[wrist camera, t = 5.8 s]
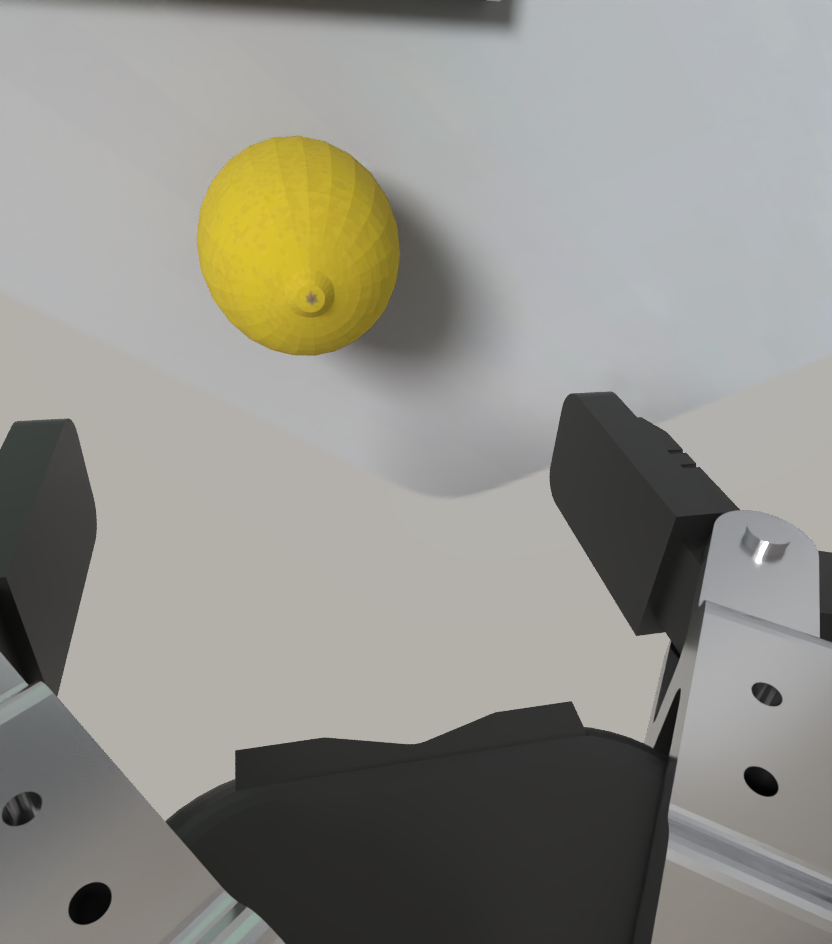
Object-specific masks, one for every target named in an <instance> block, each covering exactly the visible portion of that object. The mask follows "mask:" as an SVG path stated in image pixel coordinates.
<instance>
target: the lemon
mask: <svg viewBox="0 0 832 944" xmlns="http://www.w3.org/2000/svg"><path fill="white" fill-rule="evenodd" d="M197 245H198V253H199V261H200V267H201V271H202V273H203V276H204V278H205V281H206V283H207V286H208V288H209V291H210V293H211V295H212V298H213V299H214V301H215V302H216V303H217V305H218V306H219V308H220V309H221V310H222V312H223V313H224V314H225V316H226V317H227V318H228V320H229V321H230V322H231V323H232V324H233V325H234V326H235V327H237V328H238V329H239V330H240V331H241V332H242V333H244V334H245V335H246V336H247V337H248V338H249V339H251V340H253V341H255V342H257V343H259V344H261V345H263V346H265V347H267V348H269V349H271V350H274V351H279V352H283V353H287V354H291V355H319V354H323V353H328V352H333V351H336V350H338V349H340V348H342V347H344V346H346V345H348V344H351V343H353V342H354V341H356V340H357V339H358V338H359V337H361V336H362V335H363V334H364V333H366V332H367V331H368V330H369V329H370V328H372V327H373V325H374V324H375V323H376V321H377V320H378V319H379V317H380V316H381V315H382V313H383V312H384V311H385V309H386V307H387V304H388V302H389V300H390V297H391V295H392V293H393V290H394V288H395V285H396V280H397V274H398V267H399V261H400V247H399V237H398V227H397V223H396V220H395V218H394V215H393V212H392V209H391V207H390V204H389V201H388V199H387V196H386V195H385V193H384V192H383V190H382V189H381V187H380V186H379V184H378V183H377V182H376V180H375V179H374V177H373V176H372V174H371V173H370V172H369V171H368V170H367V169H366V168H365V167H364V166H362V165H361V164H360V163H359V162H358V161H357V160H356V159H355V158H354V157H352V156H351V155H350V154H349V153H347V152H345V151H343V150H341V149H339V148H337V147H335V146H333V145H331V144H329V143H327V142H325V141H320V140H316V139H311V138H306V137H302V136H293V137H274V138H271V139H268V140H265V141H263V142H260V143H257V144H254V145H251V146H249V147H248V148H246V149H245V150H243V151H242V152H241V153H239V154H238V155H236V156H235V157H233V158H232V159H231V160H229V161H228V162H227V164H226V165H225V166H224V167H223V169H222V170H221V171H220V172H219V174H218V175H217V176H216V177H215V178H214V180H213V181H212V182H211V184H210V187H209V189H208V192H207V194H206V196H205V199H204V201H203V204H202V206H201V209H200V216H199V223H198V231H197Z"/></svg>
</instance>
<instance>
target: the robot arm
mask: <svg viewBox="0 0 832 944" xmlns="http://www.w3.org/2000/svg"><path fill="white" fill-rule="evenodd" d="M682 451H683V450H682V448H681V447H680V446H679V445H678V444H677V443H676V442H675V441H674V440H673V439H672V437H671V436H670V435H668V433H667V432H666V431H664V430H662V429H660V428H659V427H657V426H655V425H653V424H652V423H650V422H648V421H647V420H645V419H643V418H641V417H639V418H637V417H636V416H635V415H634V414H633V413H632V411H631V410H630V409H629V408H628V407H627V406H626V405H625V404H624V403H623V402H622V400H621V399H620V398H619V397H618V396H617V395H616V394H615V393H613V392H593V393H574V394H569V395H568V396H567V397H566V399H565V401H564V403H563V407H562V411H561V416H560V421H559V426H558V432H557V437H556V442H555V447H554V452H553V457H552V462H551V467H550V486H551V492H552V496H553V498H554V501H555V503H556V505H557V507H558V508H559V510H560V511H561V513H562V515H563V516H564V518H565V520H566V521H567V523H568V525H569V526H570V528H571V530H572V531H573V533H574V534H575V536H576V538H577V539H578V541H579V543H580V544H581V546H582V547H583V549H584V551H585V552H586V554H587V556H588V557H589V559H590V561H591V562H592V564H593V566H594V567H595V569H596V571H597V572H598V574H599V576H600V577H601V579H602V580H603V582H604V583H605V585H606V587H607V589H608V590H609V592H610V594H611V595H612V597H613V599H614V600H615V602H616V603H617V605H618V606H619V608H620V610H621V612H622V613H623V615H624V617H625V618H626V620H627V622H628V623H629V625H630V626H631V628H632V630H633V631H634V633H635V635H636V636H639V635H646V634H654V633H662V632H666V634H667V635H668V637H669V638H670V643H669V645H668V648H667V651H666V653H665V656H664V660H663V665H662V669H661V673H660V678H659V682H658V687H657V691H656V695H655V699H654V704H653V708H652V713H651V717H650V721H649V725H648V729H647V734H646V738H645V742H644V743H641V742H639V741H636V740H634V739H632V738H629V737H626V736H623V735H619V734H616V733H613V732H609V731H605V730H599V729H594V728H588V727H583V725H582V723H581V721H580V718H579V716H578V714H577V712H576V710H575V707H574V705H573V703H572V702H564V703H557V704H550V705H543V706H536V707H530V708H523V709H516V710H510V711H503V712H496V713H493V714H490V715H488V716H486V717H483V718H481V719H478V720H476V721H474V722H471V723H469V724H466V725H464V726H461V727H459V728H457V729H454V730H452V731H449V732H447V733H445V734H443V735H440V736H437V737H435V738H433V739H430V740H428V741H426V742H422V743H419V744H397V743H396V744H395V743H384V742H372V741H360V740H359V741H358V740H348V739H336V738H318V739H311V740H304V741H297V742H291V743H284V744H277V745H270V746H263V747H257V748H250V749H243V750H236V751H235V757H236V759H235V761H236V762H235V766H236V767H235V769H236V771H235V776H236V778H235V780H232V781H229V782H227V783H224V784H222V785H219V786H217V787H216V788H214V789H212V790H210V791H208V792H207V793H204V794H203V795H201V796H199V797H197V798H196V799H194V800H193V801H191V802H190V803H188V804H187V805H185V806H184V807H182V808H181V809H179V810H178V811H177V812H176V813H175V814H173V815H172V816H171V817H170V818H169V819H167V820H166V821H164V820H163V819H162V818H161V816H160V815H159V814H158V813H157V812H156V811H155V809H154V808H153V807H152V806H151V805H150V804H149V802H148V801H147V800H146V799H145V798H144V797H143V796H142V794H141V793H140V792H139V791H138V790H137V789H136V787H135V786H134V785H133V784H132V783H131V782H130V781H129V779H128V778H127V777H126V776H125V775H124V774H123V772H122V771H121V770H120V769H119V768H118V767H117V766H116V764H115V763H114V762H113V761H112V760H111V759H110V757H108V755H107V754H106V753H105V752H104V751H103V750H102V748H101V747H100V746H99V745H98V744H97V743H96V741H95V740H94V739H93V738H92V737H91V736H90V734H89V733H88V732H87V731H86V730H85V729H84V727H83V726H82V725H81V724H80V723H79V722H78V721H77V719H75V717H74V716H73V715H72V714H71V713H70V711H69V710H68V709H67V708H66V707H65V706H64V704H63V703H62V702H61V701H60V700H59V699H58V698H57V695H58V691H59V687H60V683H61V679H62V675H63V671H64V667H65V662H66V658H67V654H68V650H69V646H70V642H71V638H72V634H73V630H74V626H75V622H76V617H77V613H78V609H79V605H80V601H81V597H82V593H83V589H84V585H85V581H86V577H87V572H88V569H89V564H90V560H91V556H92V552H93V548H94V544H95V539H96V529H97V522H96V520H97V519H96V509H95V502H94V498H93V494H92V490H91V486H90V482H89V478H88V474H87V470H86V466H85V462H84V458H83V454H82V450H81V446H80V442H79V438H78V434H77V431H76V428H75V425H74V423H73V422H72V420H70V419H51V420H32V421H17V422H15V423H13V425H12V427H11V429H10V431H9V433H8V435H7V437H6V439H5V441H4V443H3V445H2V447H1V449H0V944H832V553H830V552H823V551H818V550H817V547H816V545H815V544H814V543H813V541H812V540H811V539H810V538H809V537H808V536H807V535H806V534H805V533H804V532H803V531H801V530H800V529H799V528H797V527H796V526H794V525H793V524H791V523H789V522H787V521H785V520H783V519H780V518H778V517H775V516H772V515H769V514H766V513H762V512H756V511H748V510H740V509H739V508H738V507H737V506H736V505H735V504H734V503H733V502H732V501H731V500H730V499H729V498H728V497H727V496H726V495H725V493H724V492H723V491H722V490H721V489H720V488H719V487H718V486H717V485H716V484H715V483H714V482H713V481H712V480H711V479H710V478H709V477H708V475H707V474H706V473H705V472H704V471H703V470H702V469H701V468H700V467H696V463H695V462H694V461H693V460H692V459H691V458H690V456H689V455H688V454H687V453H683V452H682Z"/></svg>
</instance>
